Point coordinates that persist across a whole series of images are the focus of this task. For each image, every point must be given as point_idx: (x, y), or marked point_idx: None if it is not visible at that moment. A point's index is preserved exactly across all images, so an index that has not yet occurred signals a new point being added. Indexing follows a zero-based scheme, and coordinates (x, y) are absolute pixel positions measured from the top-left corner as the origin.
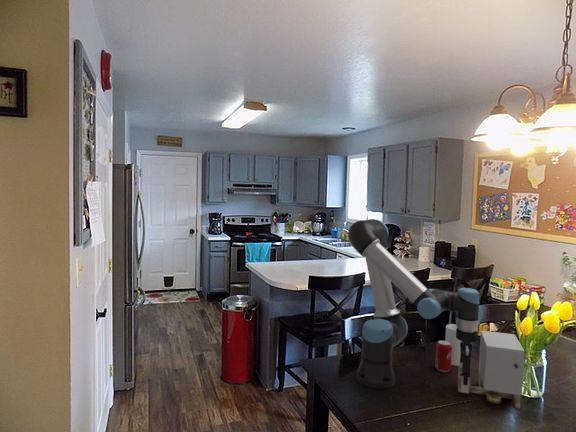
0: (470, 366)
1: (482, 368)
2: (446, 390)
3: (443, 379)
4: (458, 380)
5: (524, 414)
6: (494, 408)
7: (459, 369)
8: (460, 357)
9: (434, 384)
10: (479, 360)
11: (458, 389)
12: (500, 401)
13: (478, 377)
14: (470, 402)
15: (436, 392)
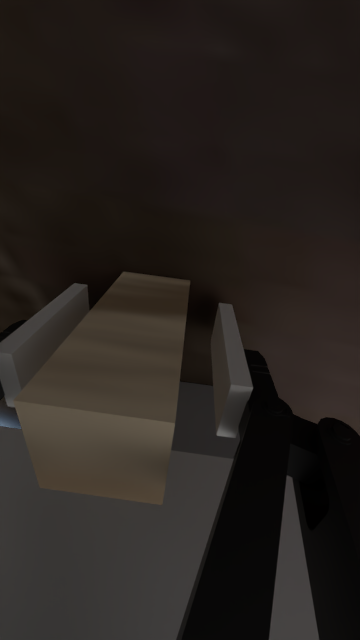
0: (82, 492)
1: (70, 548)
2: (114, 190)
3: (310, 197)
4: (142, 301)
5: None
6: None
7: (41, 367)
8: (338, 485)
9: (197, 87)
10: None
11: (119, 276)
12: None
13: None
14: (18, 309)
15: (42, 87)
